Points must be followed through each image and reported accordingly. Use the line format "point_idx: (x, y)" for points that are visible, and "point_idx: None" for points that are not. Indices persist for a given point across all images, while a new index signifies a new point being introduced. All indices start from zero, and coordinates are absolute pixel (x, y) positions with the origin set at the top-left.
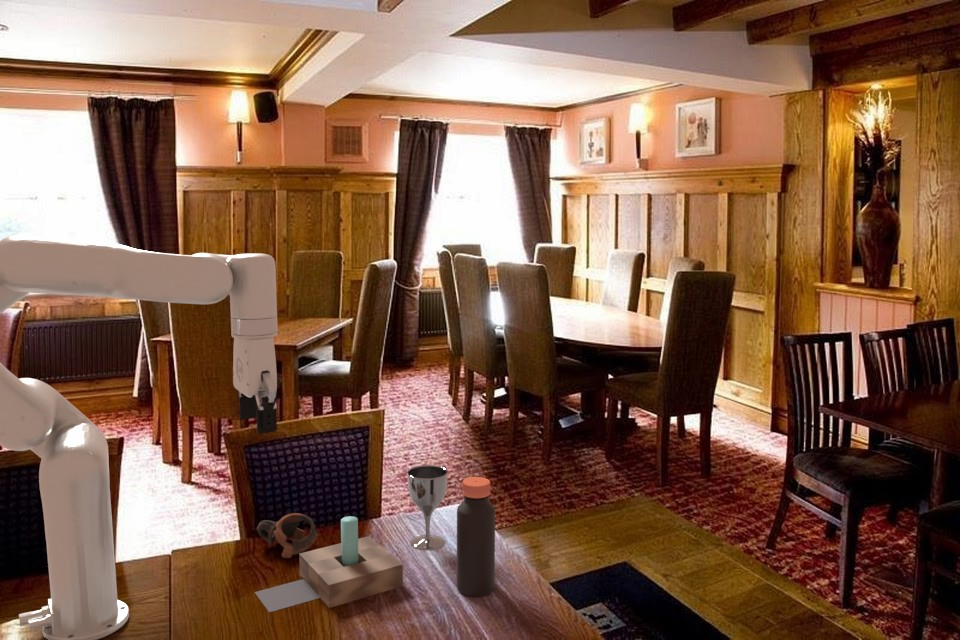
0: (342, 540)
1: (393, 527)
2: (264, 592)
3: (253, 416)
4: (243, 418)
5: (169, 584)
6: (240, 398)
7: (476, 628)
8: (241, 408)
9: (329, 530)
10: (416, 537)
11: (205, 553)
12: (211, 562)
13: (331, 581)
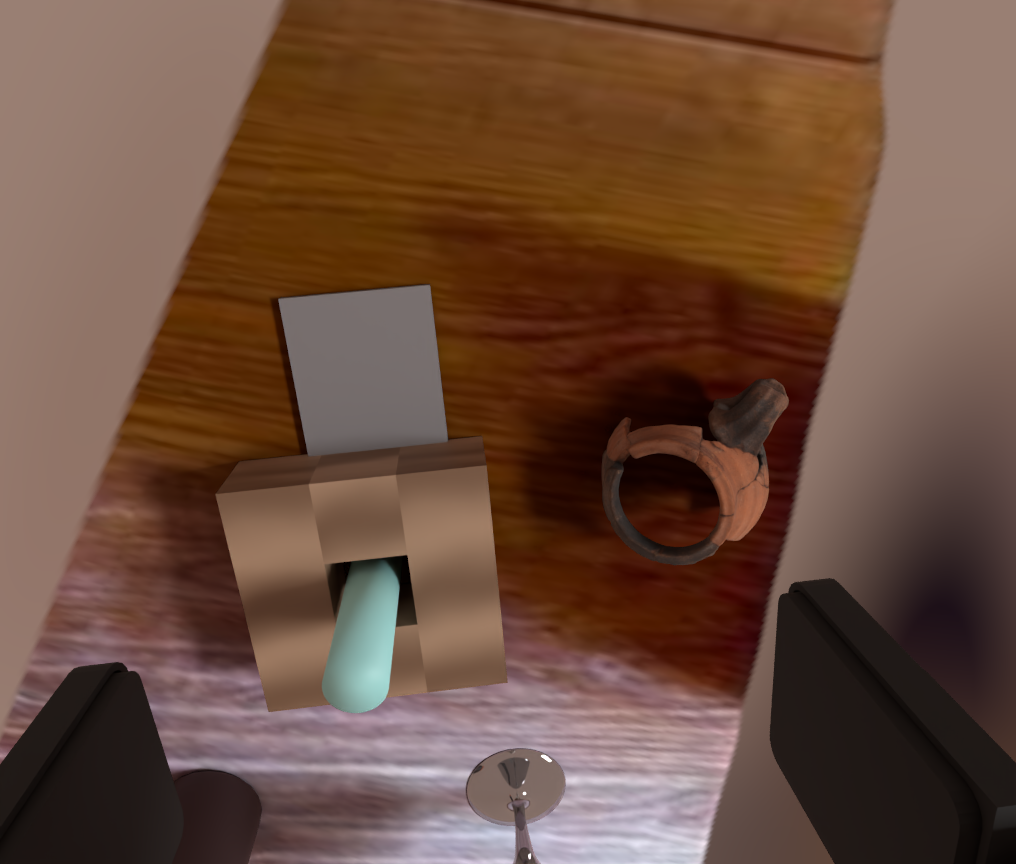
0: (355, 614)
1: (657, 741)
2: (413, 313)
3: (776, 715)
4: (782, 610)
5: (641, 20)
6: (983, 806)
7: (12, 745)
8: (859, 682)
9: (743, 587)
10: (555, 774)
11: (812, 189)
12: (730, 196)
13: (236, 507)
